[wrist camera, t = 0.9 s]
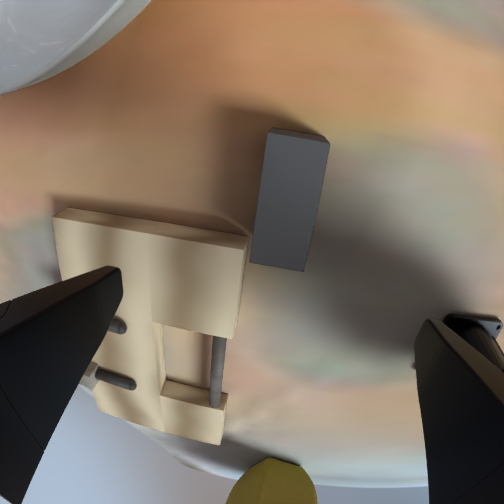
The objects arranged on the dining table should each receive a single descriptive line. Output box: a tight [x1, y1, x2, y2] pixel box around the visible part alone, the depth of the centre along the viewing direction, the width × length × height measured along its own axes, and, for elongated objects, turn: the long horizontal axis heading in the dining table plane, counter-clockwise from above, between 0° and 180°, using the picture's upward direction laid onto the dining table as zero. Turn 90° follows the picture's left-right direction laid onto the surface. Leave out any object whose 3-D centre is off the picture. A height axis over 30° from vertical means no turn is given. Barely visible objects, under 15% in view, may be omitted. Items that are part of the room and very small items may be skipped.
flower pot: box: [226, 457, 318, 504], centre depth 30 cm, size 9×9×9 cm
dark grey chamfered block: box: [249, 128, 330, 272], centre depth 18 cm, size 3×7×4 cm, turn 173°
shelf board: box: [52, 208, 249, 445], centre depth 25 cm, size 14×23×4 cm, turn 173°
